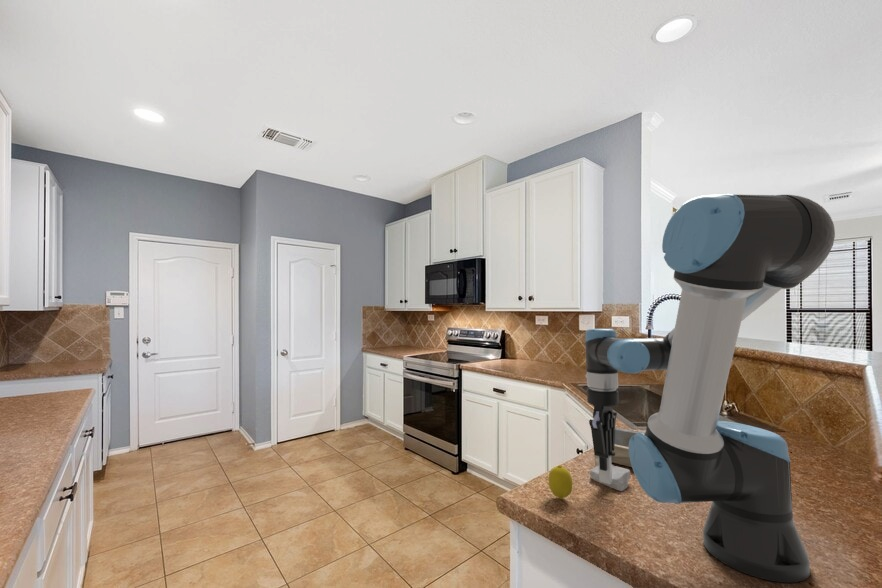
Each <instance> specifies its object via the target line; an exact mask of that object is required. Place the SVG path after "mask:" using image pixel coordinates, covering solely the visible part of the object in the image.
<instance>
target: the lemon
mask: <svg viewBox="0 0 882 588" xmlns="http://www.w3.org/2000/svg"><path fill="white" fill-rule="evenodd" d="M548 486H549V489H550V491H551V493H552V495H554V496H555V497H557V498H558V499H559V500H563V499H565V498H567V497H569V495H571V493H572V490H573V477H572V475H571V473H570V471H569V469H568V468H565V466H562V465H560V464H558V465H557V466H554V467H553V468H552V469H551V470H550V471H549V475H548Z"/></svg>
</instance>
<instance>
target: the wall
mask: <svg viewBox="0 0 882 588" xmlns="http://www.w3.org/2000/svg"><path fill="white" fill-rule="evenodd" d="M638 433H642V434H644V433H645V432H643V431H634V430H629V429H624V428H620V427H615V444H616V445H621V446H625V447H629V441H630V438H631V437H632V436H633V435H635V434H638Z"/></svg>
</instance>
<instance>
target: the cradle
mask: <svg viewBox="0 0 882 588" xmlns="http://www.w3.org/2000/svg"><path fill="white" fill-rule="evenodd" d="M614 448H615V449H614V451H612V452H613V453H615V456H612V455H610V456H611V463H613V464H618V465H622V466H625V467H630V468H632V465H631V462H630V457H629V447H625V446H621V445H616V444H615V446H614ZM596 466H599V459H598V456H596V455H594V467H596Z"/></svg>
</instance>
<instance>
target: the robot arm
mask: <svg viewBox="0 0 882 588" xmlns="http://www.w3.org/2000/svg"><path fill="white" fill-rule="evenodd" d="M835 235H836V230H835V224H834V222H833V219H832V217H831V215H830V214H829V212H828V211H827V210H826V209H825V208H824V207H823V206H822V205H820V204H819V203H818V202H816V201H813V200H812V199H810V198H808V197H804V196H800V195H793V194H776V195H775V194H730V193H724V194H722V193H721V194H719V193H718V194H708V195H707V194H706V195H701V196H696V197H693V198H691V199H689V200H687V201H686V202H684V203H683V204H682V205H680V208H678V209H677V210H676V211H675V212H674V213H673V214H672V216H671V218H670V219H669V220H668V223H667V225H666V227H665V230H664V232H663V236H662V244H661V247H662V248H661V249H662V253H664V255H663V259H664V261H665V263H666V265H667V266H668V267H669V268H670V269H672V270H673V271H674V272H673V280H674V281H675V283H677V284H678V285H679V287H680V288H681V293H680V299H679V303H678V309H677V310H678V311H677V315H676V320H675V325H674V328H672V330H671V331H669V332H668V333H667V335H666V336H664V337H649V338H647V337H646V338H645V337H644V338H643V337H642V338H640V337H638V338H633V337H632V338H618V337H617V332H616V330H615V329H613V328H589V329H588V328H587V329H586V331H585V341H584V346H585V360H586V361H585V365H586V366H585V367H586V368H585V369H586V374H585V376H584V377H585V378H586V386H587V387H588V388H587V389H586V397H587V399H586V400H587V403H588V404H589V405H592V406H593V411H592V418H593V419H589V420H588V421H589V422H588V424H589V426H590V427H589V428H590V430H591V438H592V444H593V445H592V446H593V452H594V453H593V454H594V456H595V455H596V456H598V459H599V481H600V482H604V483H607V484H611V483H612V465H613V464H612V463H613V462H611V456H610V455H612V456H615V453H613V452H612V451H614V449H615V448H614V446H615V428H616V422H617V414H618V413H617V411H613V409H614V408H613V407H616V406H618V405H619V403H620V401H619V400H620V398H619V396H620V395H619V391H618V389H619V372H621V373H622V374H638V373H640V372H643V371H644V372H645V371H648V372H649V371H666V373H665V377H664V378H665V379H664V385H663V390H662V394H661V399H660V401H661V402H660V406H659V410H658V412H656V413H653V414H651V415H650V416H649V417H648V419H647V422H646V423H647V424H646V429H645V432H642V433H644V434H642V433H638V434H635V435H633V436H632V437H631V438H630V441H629V457H630V462H631V465H632V467H631V468H632V471H633V473H634V476H635V479H636V480H637V482H638V484H639V485H640V487H641V489H642V490H643V491H644V492H645V494H646V495H647V496H648V497H650V499H652V500H654V501H656V502H658V503H661V504H676V505H678V504H679V505H680V504H688V503H704V502H705V503H706V502H711V505H710V508H709V510H708V513H707V516H706V520H705V523H704V526H703V528H702V537H703V539H702V541H703V545H704V547H705V549H706V550H707V552H708V553H710V554H711V555H712V556H713V557H714V558H716V559H717V560H718V561H720V562H722V563H724V565H726V566H728V567H730V568H732V569H735V570H736V571H738V572H741V573H743V574H746V575H749V576H752V577H754V578H760V579H763V580H765V581H766V580H767V581H771V582H772V581H773V582H779V583H799V581H800V582H803V581H805V580H806V579H808V578H809V577H810V576H811V575H810V574H811V569H810V568H811V566H810V558H809V555H808V552H807V550H806V547H805V546H804V543H803V541H802V539H801V536H800V534H799V531H798V530H797V527H796V525H795V523H794V516H793V497H792V496H793V495H792V476H791V474H792V473H791V472H792V471H791V463H792V460H791V458H790V455H789V447H788V442H787V441H786V440H785V438H784V437H782V436H781V435H779V434H778V433H776V432H773V431H770V430H767V429H764V428H761V427H757V426H752V425H748V424H744V423H738V422H733V421H726V420H719V417H720V413H721V409H722V408H721V407H722V404H723V400H724V396H725V393H726V387H727V384H728V379H729V374H730V370H731V366H732V361H733V357H734V355H735V354H734V353H735V349H736V345H737V341H738V337H739V332H740V328H741V323H742V321H744V320H745V319H746V318H748V317H749V316H751V314H752V313H754V312H755V311H756V310H757V309H759V308H760V307H761V306H763V305H764V304H765V303H766V302H768V301H769V300H770V299H771V298H773V296H775V295H776V294H777V293H779V291H781V290H789V289H794V288H795V287H797V286H799V285H800V284H801V283H803V282H804V281H805V280H806V279H808V278H809V277H810V276H811V275H812V274H813V273H814V272H815V271H816V270H817V269H818V268H819V267H821V265H822V264H823V263H824V262H825V260H826V259H827V258H828V256H829V255H830V253H831V250H832V248H833V246H834V242H835V238H836V236H835ZM600 482H599V483H600Z"/></svg>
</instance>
